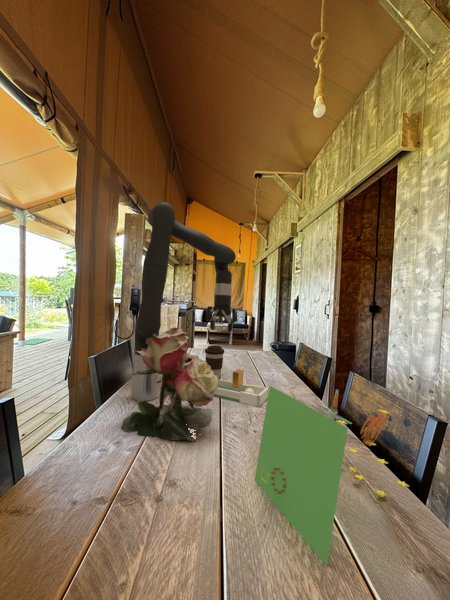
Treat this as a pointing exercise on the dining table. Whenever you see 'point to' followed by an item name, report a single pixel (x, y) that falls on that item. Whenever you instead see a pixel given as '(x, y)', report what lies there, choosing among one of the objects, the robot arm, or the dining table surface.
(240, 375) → the orange upright block
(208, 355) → the coffee cup
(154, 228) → the robot arm
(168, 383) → the rose bouquet
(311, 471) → the green panel with ring
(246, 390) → the ball
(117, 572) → the dining table surface
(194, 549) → the dining table surface
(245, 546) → the dining table surface
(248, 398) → the cream tray
